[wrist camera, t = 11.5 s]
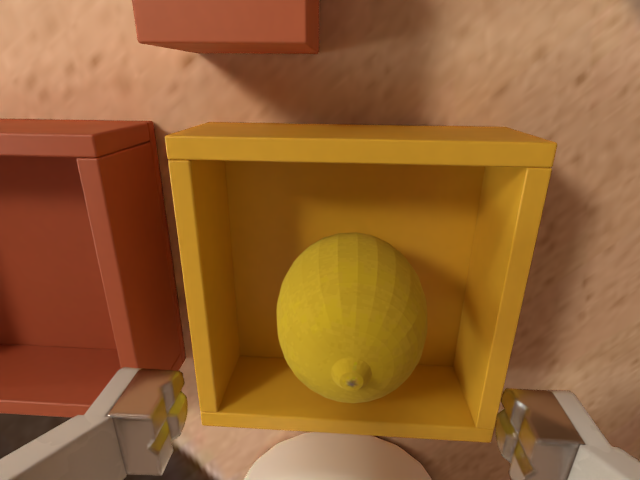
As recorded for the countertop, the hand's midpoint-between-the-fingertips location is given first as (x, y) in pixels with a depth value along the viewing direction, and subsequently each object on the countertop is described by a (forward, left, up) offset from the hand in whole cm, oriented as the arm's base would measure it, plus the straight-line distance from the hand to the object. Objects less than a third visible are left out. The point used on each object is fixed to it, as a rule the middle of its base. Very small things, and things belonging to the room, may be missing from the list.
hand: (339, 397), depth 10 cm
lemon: (+1, 0, -9) cm, 9 cm away
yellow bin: (+1, 0, -10) cm, 10 cm away
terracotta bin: (+1, -15, -10) cm, 18 cm away
